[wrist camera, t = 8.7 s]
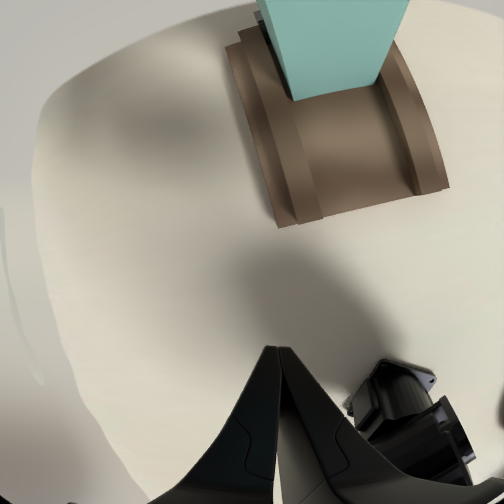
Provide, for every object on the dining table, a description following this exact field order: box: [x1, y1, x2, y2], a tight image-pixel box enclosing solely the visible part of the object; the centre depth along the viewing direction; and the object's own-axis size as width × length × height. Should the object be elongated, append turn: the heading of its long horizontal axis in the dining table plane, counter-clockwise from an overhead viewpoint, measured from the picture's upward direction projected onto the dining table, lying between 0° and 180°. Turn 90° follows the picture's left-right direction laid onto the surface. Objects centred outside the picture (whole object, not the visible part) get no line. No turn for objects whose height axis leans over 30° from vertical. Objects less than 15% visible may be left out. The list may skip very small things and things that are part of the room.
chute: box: [225, 10, 450, 229], centre depth 16 cm, size 15×13×5 cm
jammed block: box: [256, 0, 410, 101], centre depth 11 cm, size 5×6×12 cm
